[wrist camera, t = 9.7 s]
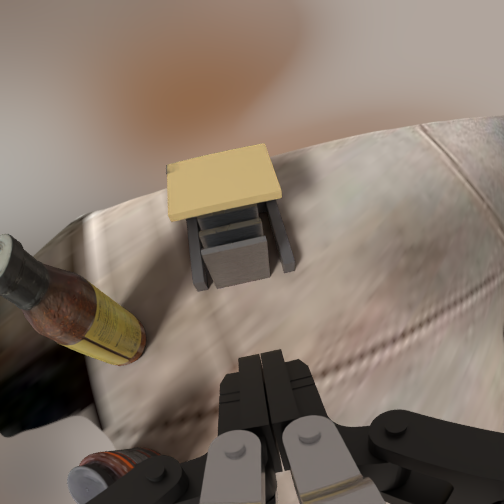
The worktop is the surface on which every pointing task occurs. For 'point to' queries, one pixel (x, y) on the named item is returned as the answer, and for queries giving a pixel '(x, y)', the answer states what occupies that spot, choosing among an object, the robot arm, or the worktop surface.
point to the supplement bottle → (103, 471)
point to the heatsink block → (234, 246)
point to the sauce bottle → (68, 307)
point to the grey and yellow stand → (225, 197)
